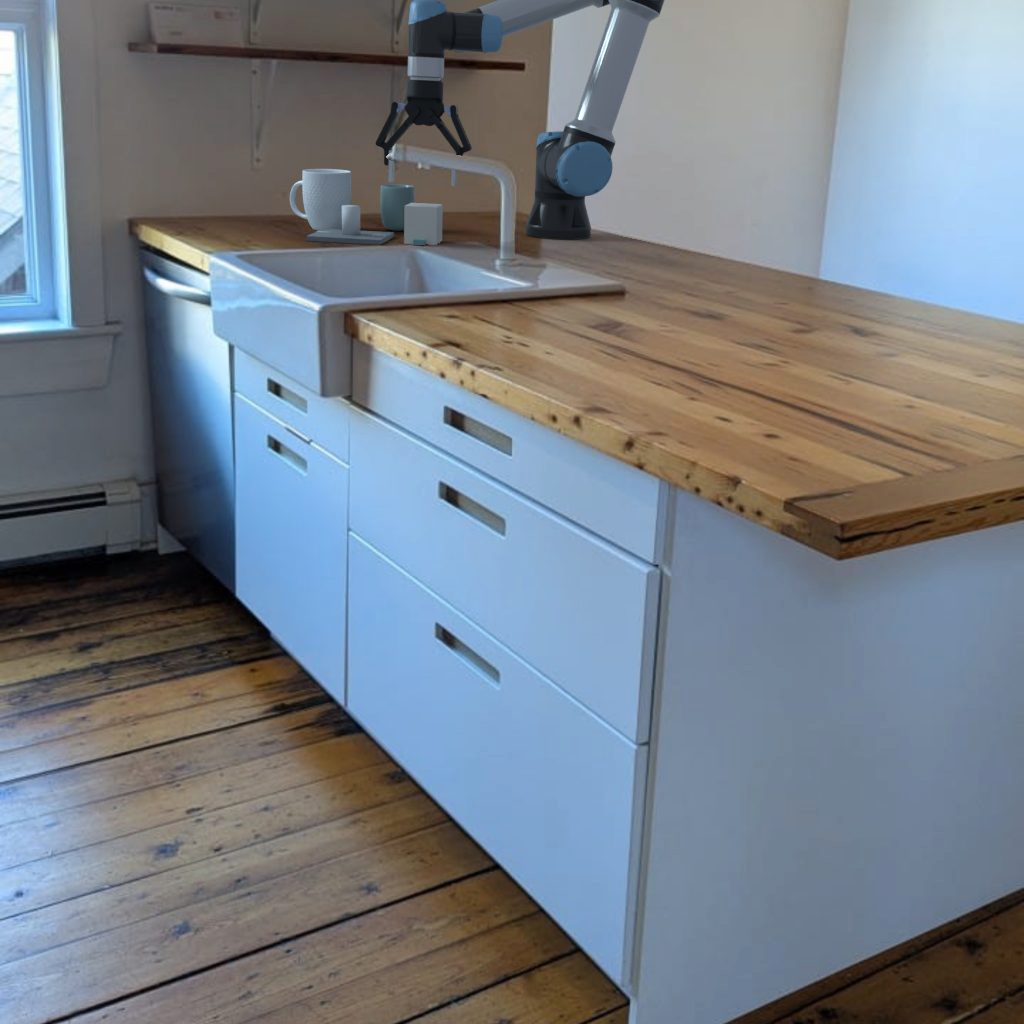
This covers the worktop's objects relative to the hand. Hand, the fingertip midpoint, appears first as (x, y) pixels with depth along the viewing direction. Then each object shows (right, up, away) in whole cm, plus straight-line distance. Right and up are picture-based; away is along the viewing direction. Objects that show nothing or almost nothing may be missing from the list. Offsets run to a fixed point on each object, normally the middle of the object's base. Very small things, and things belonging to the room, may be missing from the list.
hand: (422, 183), depth 281 cm
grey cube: (0, -12, +4) cm, 12 cm away
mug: (-24, -6, +20) cm, 32 cm away
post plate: (-16, -11, +6) cm, 20 cm away
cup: (-8, -5, +24) cm, 26 cm away
